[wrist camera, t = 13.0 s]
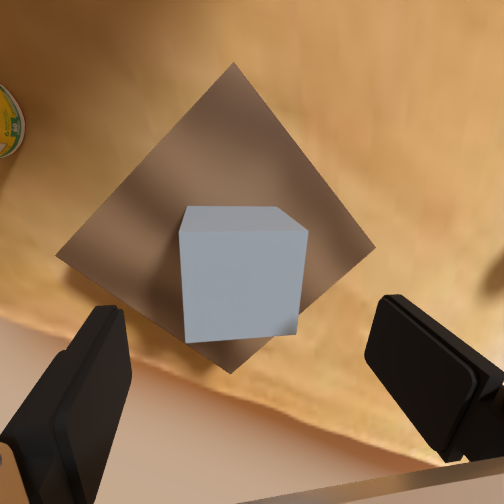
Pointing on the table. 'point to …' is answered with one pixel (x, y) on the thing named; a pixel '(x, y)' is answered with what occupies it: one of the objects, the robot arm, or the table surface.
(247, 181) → the walnut block
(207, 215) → the blue cube
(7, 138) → the supplement bottle
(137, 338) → the table surface
